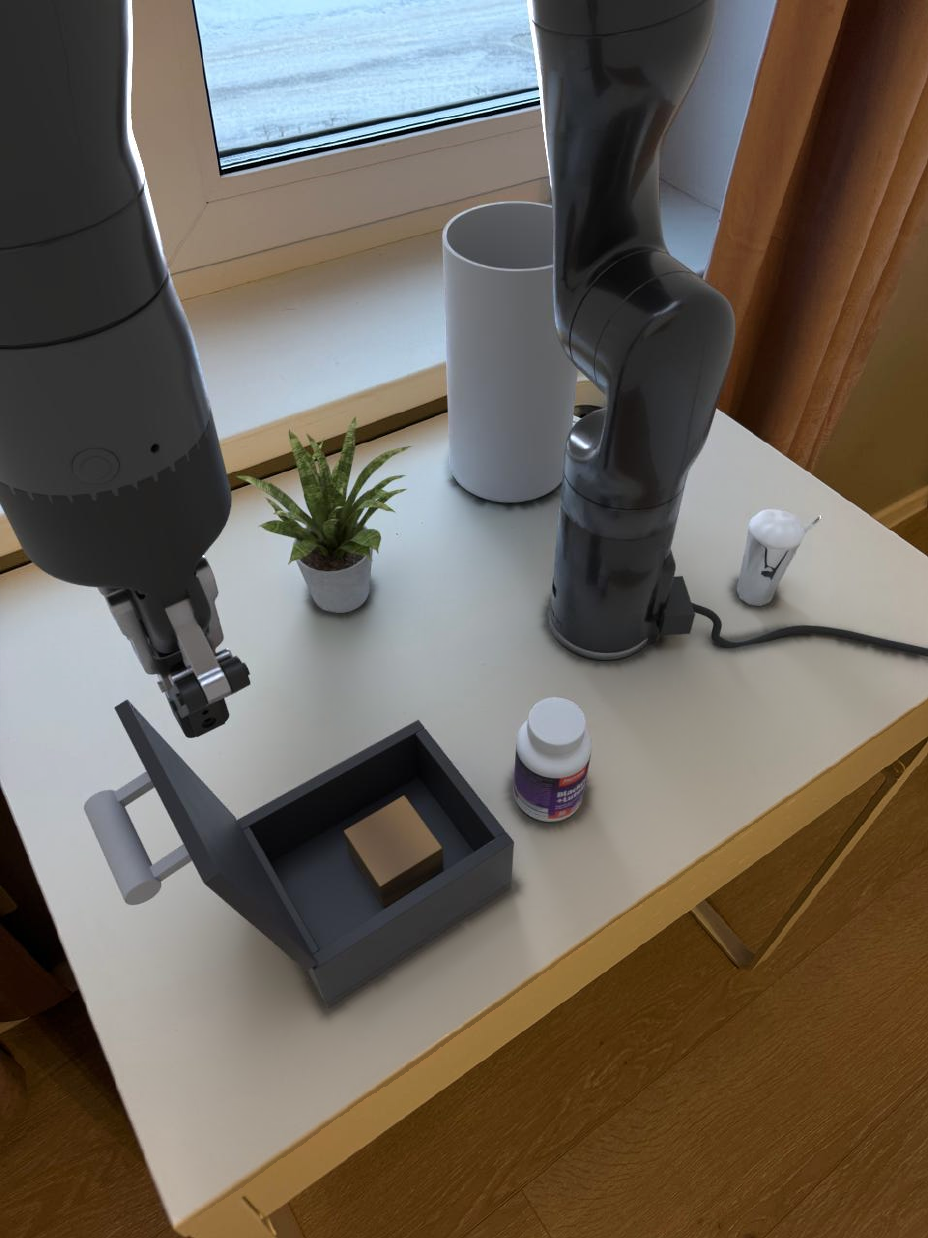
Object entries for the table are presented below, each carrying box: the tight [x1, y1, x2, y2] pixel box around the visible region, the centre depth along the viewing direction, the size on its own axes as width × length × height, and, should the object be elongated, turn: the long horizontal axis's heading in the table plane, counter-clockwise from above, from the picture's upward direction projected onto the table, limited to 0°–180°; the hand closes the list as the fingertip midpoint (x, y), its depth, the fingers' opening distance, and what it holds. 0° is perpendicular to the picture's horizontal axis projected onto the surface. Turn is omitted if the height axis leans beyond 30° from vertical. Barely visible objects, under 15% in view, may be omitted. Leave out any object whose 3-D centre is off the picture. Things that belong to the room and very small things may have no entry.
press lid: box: [83, 699, 317, 972], centre depth 49 cm, size 16×12×5 cm
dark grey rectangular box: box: [237, 719, 515, 1009], centre depth 62 cm, size 15×12×7 cm
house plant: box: [233, 416, 413, 614], centre depth 76 cm, size 14×14×16 cm
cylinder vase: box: [441, 200, 579, 504], centre depth 85 cm, size 12×12×25 cm
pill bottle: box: [513, 696, 593, 823], centre depth 65 cm, size 5×5×10 cm
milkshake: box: [736, 508, 822, 607], centre depth 78 cm, size 4×5×10 cm
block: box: [344, 796, 444, 908], centre depth 63 cm, size 5×5×4 cm
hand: (203, 719), depth 42 cm, fingers closed
